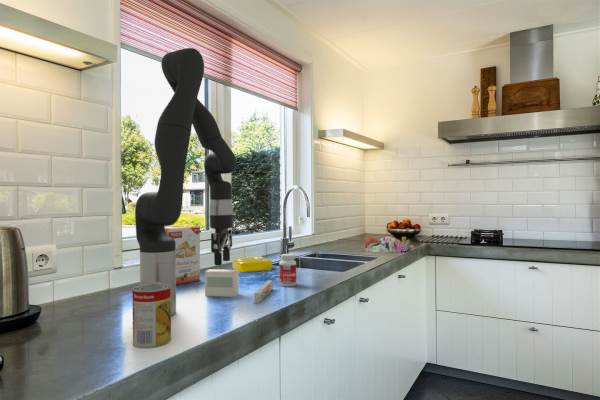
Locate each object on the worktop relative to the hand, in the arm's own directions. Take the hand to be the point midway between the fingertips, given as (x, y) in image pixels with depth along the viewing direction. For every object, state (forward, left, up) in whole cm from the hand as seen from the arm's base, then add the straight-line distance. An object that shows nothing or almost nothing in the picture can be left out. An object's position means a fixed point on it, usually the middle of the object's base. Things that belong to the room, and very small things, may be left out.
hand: (222, 262), depth 136 cm
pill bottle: (+17, -19, -11) cm, 27 cm away
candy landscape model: (+120, -62, -11) cm, 136 cm away
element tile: (+51, +3, -11) cm, 52 cm away
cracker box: (+18, +22, -11) cm, 30 cm away
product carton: (0, 0, -10) cm, 10 cm away
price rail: (0, -14, -10) cm, 17 cm away
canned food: (-45, +1, -11) cm, 47 cm away
